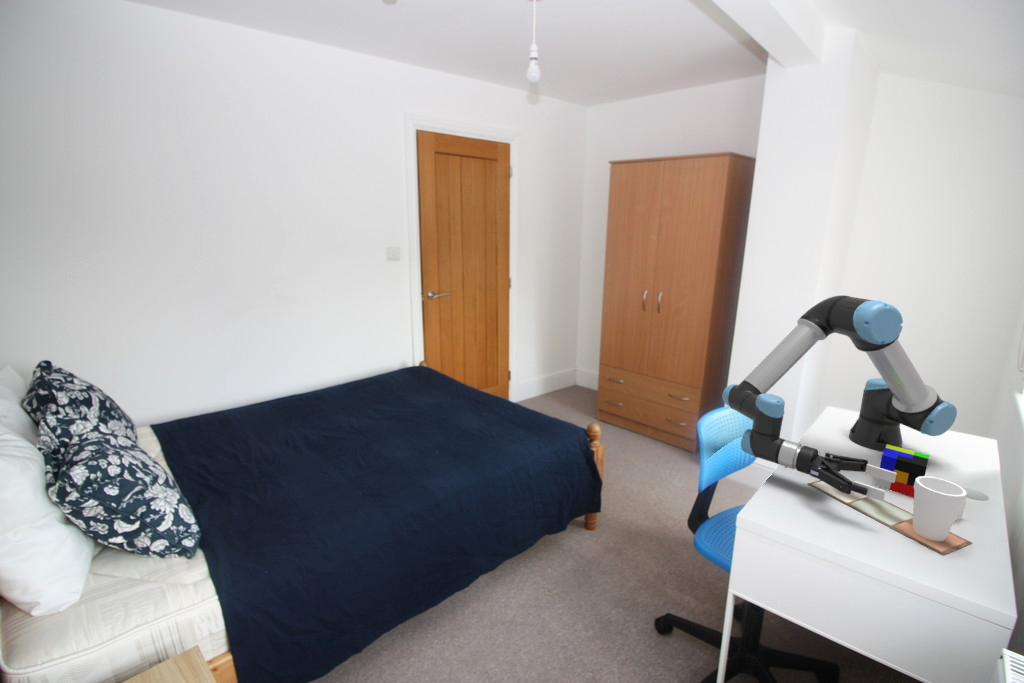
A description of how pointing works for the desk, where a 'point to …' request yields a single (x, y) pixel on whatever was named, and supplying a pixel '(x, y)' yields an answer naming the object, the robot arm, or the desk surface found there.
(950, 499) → the foam cup
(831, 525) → the desk surface
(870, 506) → the color swatch strip
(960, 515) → the die
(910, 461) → the puzzle toy
